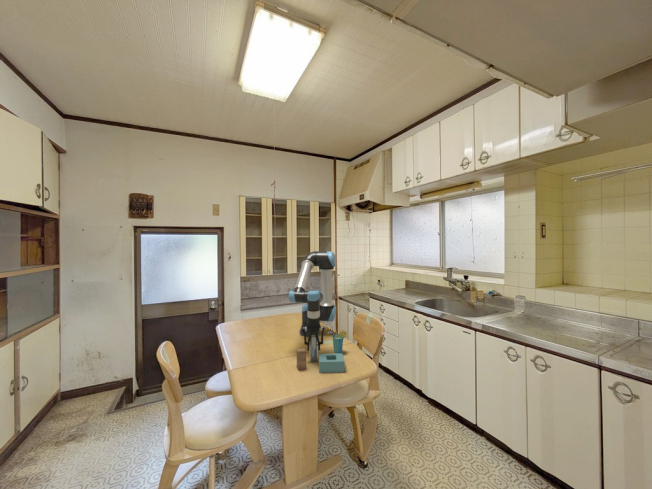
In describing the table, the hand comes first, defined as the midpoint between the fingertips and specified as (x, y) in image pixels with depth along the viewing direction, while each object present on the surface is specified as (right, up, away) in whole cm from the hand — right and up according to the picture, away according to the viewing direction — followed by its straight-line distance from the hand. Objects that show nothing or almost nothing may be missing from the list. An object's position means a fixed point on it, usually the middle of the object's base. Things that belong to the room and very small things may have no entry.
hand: (313, 355), depth 152 cm
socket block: (+10, -3, -8) cm, 14 cm away
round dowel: (0, -3, 0) cm, 3 cm away
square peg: (-7, -3, -8) cm, 11 cm away
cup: (+14, -3, +11) cm, 18 cm away
